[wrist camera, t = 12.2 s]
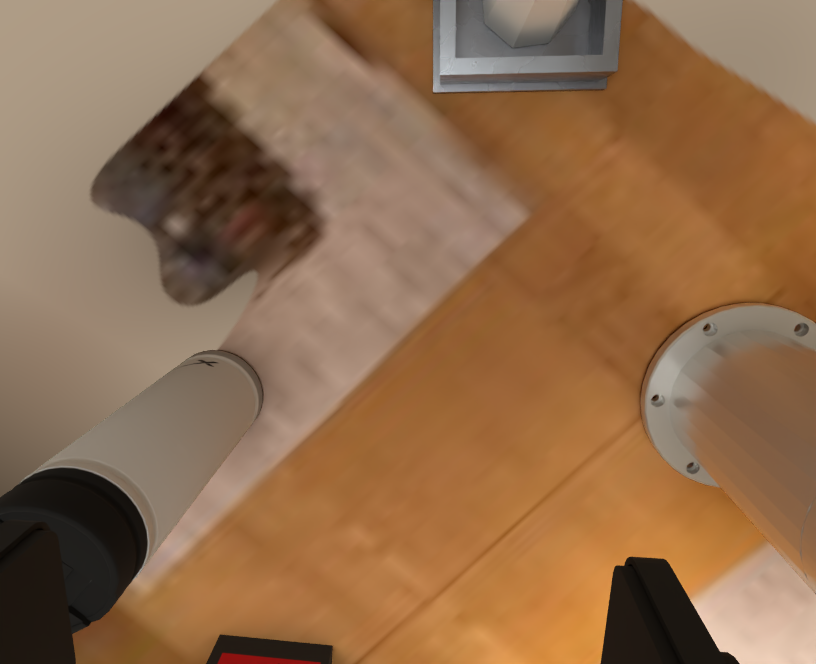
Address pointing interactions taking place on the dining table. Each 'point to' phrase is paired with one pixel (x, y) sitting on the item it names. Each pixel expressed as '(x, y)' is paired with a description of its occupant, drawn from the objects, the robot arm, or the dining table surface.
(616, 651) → the robot arm
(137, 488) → the travel mug
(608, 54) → the grey square tray
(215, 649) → the cleaning product box
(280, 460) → the dining table surface
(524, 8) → the pepper shaker
